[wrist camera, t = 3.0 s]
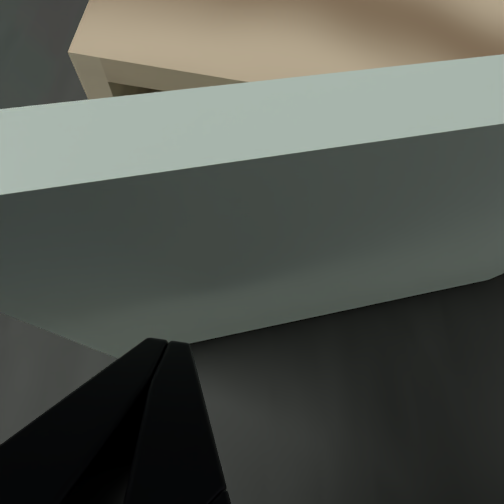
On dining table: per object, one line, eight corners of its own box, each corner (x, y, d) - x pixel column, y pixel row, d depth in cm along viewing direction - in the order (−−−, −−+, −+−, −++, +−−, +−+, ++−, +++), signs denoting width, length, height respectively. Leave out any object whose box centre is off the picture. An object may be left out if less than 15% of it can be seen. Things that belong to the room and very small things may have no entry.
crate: (477, 255, 18) (667, 151, 10) (133, 202, 17) (67, 52, 10) (467, 148, 20) (618, -2, 12) (161, 98, 19) (126, -89, 12)
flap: (498, 277, 17) (1036, 47, 6) (118, 358, 14) (-221, 226, 3) (488, 256, 17) (982, 1, 6) (115, 332, 15) (-200, 131, 4)
